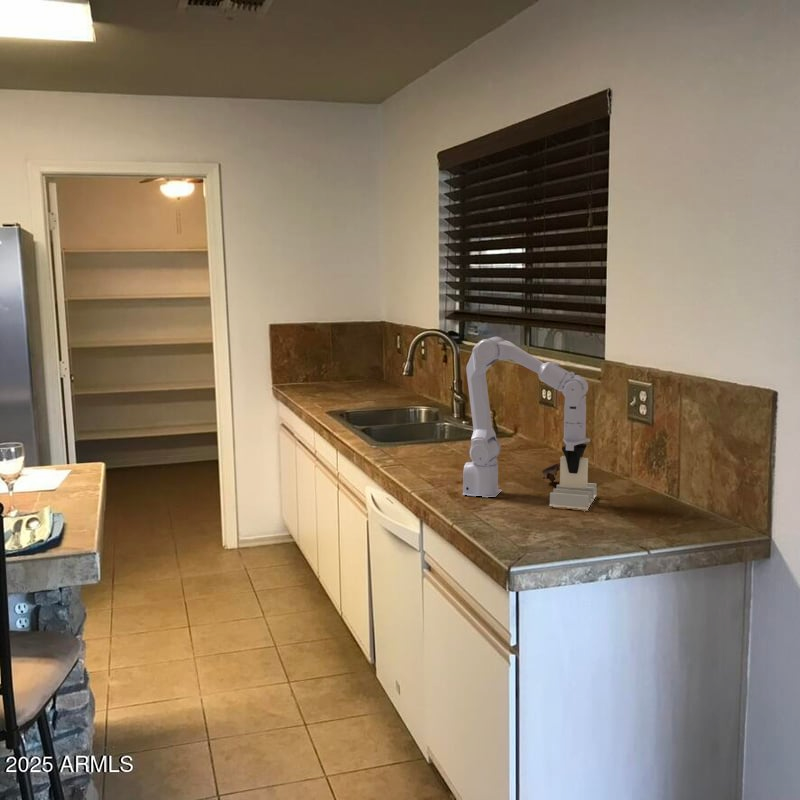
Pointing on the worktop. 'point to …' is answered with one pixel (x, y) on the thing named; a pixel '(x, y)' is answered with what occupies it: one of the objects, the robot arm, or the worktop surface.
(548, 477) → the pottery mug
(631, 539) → the worktop surface
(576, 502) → the dish rack
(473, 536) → the worktop surface
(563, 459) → the beige rectangular block
